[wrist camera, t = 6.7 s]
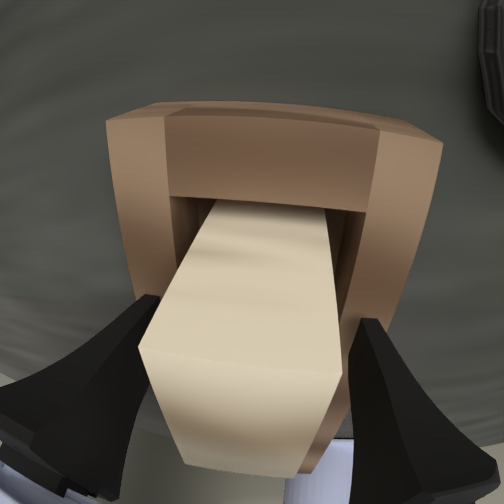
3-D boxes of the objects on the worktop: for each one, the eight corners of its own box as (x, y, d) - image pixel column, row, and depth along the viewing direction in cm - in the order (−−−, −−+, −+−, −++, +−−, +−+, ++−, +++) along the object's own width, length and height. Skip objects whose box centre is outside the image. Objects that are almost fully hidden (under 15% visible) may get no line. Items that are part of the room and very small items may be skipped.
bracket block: (302, 328, 16) (293, 478, 9) (224, 320, 16) (184, 463, 10) (322, 200, 12) (342, 373, 6) (221, 192, 13) (137, 346, 6)
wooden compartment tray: (312, 434, 24) (310, 474, 21) (199, 420, 25) (189, 459, 22) (403, 119, 11) (443, 143, 8) (156, 102, 12) (105, 120, 9)
